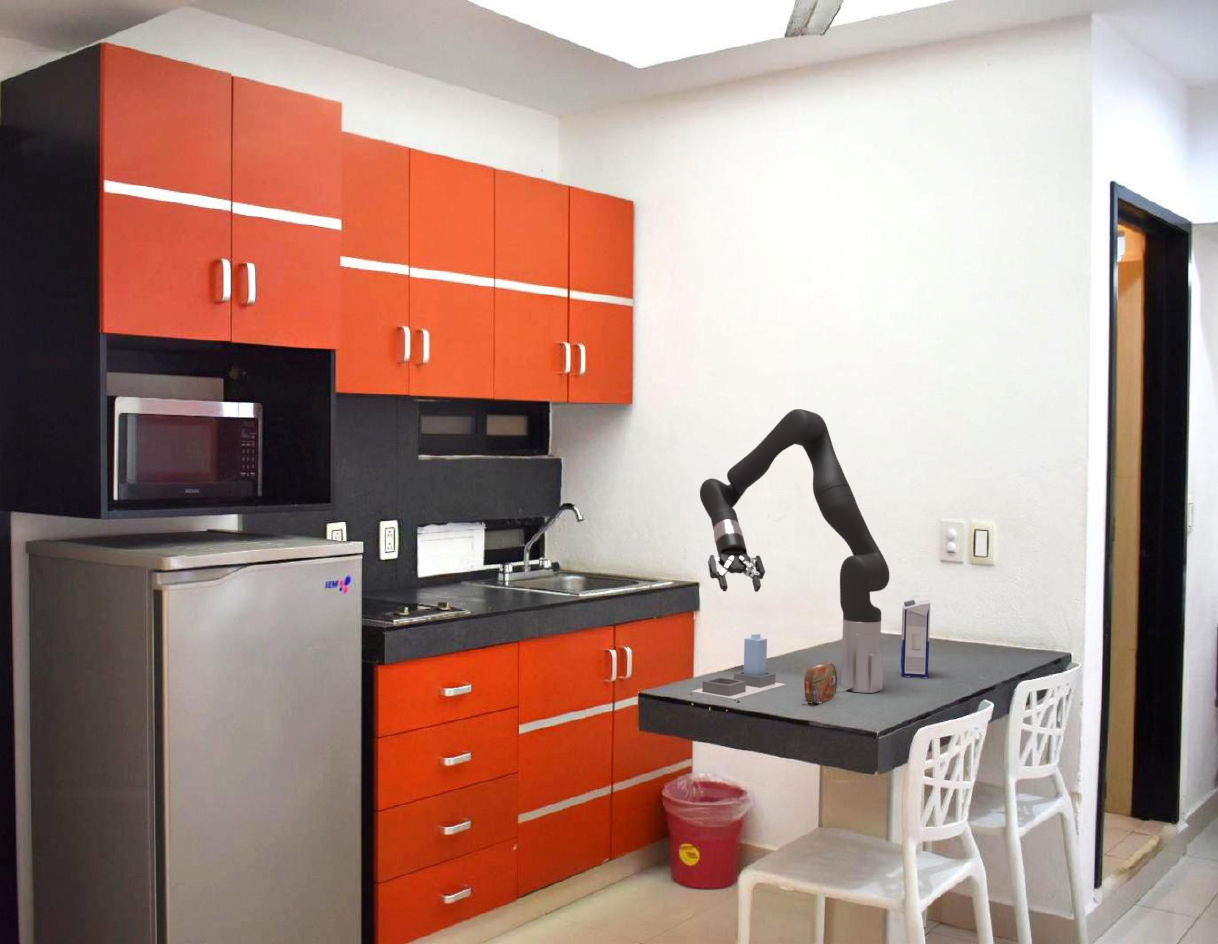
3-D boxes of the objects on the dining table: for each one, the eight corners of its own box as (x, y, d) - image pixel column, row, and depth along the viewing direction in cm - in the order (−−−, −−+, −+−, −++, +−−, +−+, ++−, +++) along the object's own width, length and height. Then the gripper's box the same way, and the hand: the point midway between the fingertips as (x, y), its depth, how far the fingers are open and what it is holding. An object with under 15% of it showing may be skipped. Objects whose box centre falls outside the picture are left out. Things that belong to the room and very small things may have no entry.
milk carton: (927, 678, 313) (930, 602, 312) (901, 677, 314) (903, 601, 314) (926, 673, 320) (928, 599, 319) (900, 672, 321) (902, 597, 320)
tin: (813, 707, 274) (815, 670, 274) (801, 705, 276) (802, 668, 276) (838, 696, 287) (839, 661, 287) (825, 694, 289) (826, 660, 288)
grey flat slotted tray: (785, 688, 295) (786, 674, 295) (734, 703, 276) (734, 688, 276) (744, 681, 302) (744, 667, 302) (691, 695, 283) (691, 680, 283)
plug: (765, 683, 295) (767, 634, 295) (757, 685, 292) (758, 636, 292) (751, 681, 297) (753, 632, 297) (743, 683, 294) (744, 634, 294)
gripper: (706, 531, 313) (718, 580, 302) (758, 532, 316) (772, 581, 305) (700, 549, 318) (711, 598, 307) (751, 550, 321) (764, 598, 310)
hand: (741, 589), depth 306 cm, fingers open, 8 cm apart
